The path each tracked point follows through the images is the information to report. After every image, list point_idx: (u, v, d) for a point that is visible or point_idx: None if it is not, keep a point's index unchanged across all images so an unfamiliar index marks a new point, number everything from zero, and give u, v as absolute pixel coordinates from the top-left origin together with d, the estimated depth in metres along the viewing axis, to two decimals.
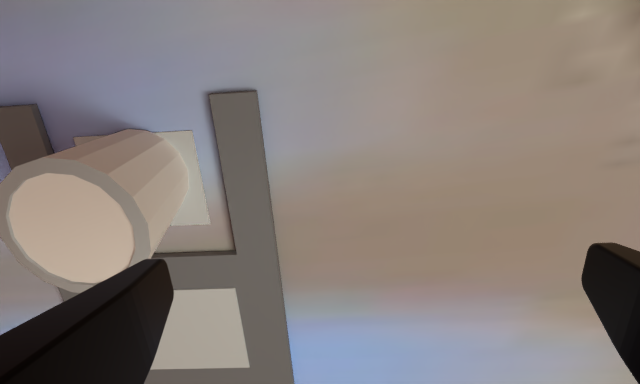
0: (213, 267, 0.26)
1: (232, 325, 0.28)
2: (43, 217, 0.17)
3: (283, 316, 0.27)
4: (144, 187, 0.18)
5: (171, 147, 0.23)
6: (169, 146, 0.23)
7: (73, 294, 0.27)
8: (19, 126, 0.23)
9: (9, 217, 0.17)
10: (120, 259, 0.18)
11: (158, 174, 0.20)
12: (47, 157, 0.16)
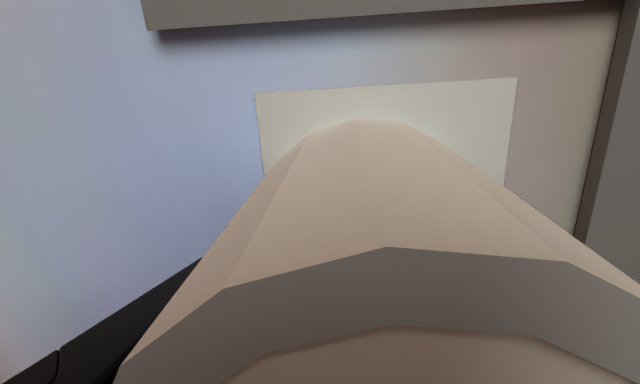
0: None
1: None
2: None
3: None
4: (265, 222, 0.04)
5: (292, 147, 0.10)
6: (290, 149, 0.10)
7: None
8: None
9: None
10: None
11: (291, 174, 0.06)
12: None
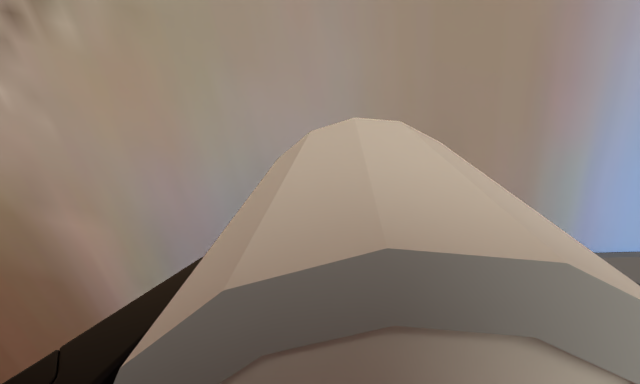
0: None
1: None
2: None
3: None
4: (265, 224, 0.04)
5: (292, 147, 0.10)
6: (290, 150, 0.10)
7: None
8: None
9: None
10: None
11: (290, 175, 0.06)
12: None
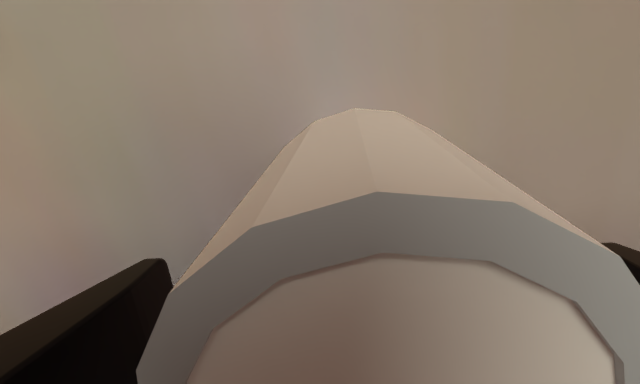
0: None
1: None
2: None
3: None
4: (279, 187, 0.05)
5: (297, 135, 0.11)
6: (295, 137, 0.11)
7: None
8: None
9: None
10: (533, 322, 0.05)
11: (298, 154, 0.07)
12: None
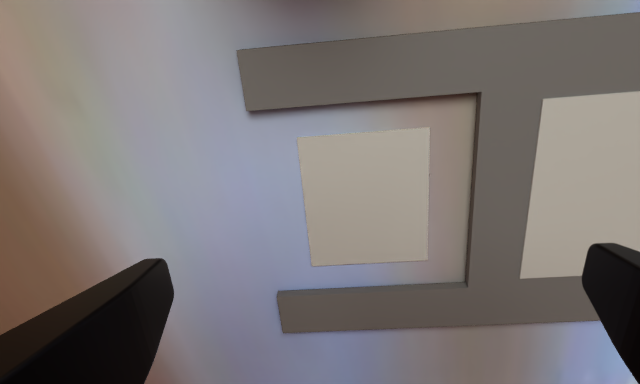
0: (499, 129, 0.17)
1: (618, 108, 0.17)
2: None
3: (620, 16, 0.15)
4: None
5: None
6: None
7: (517, 310, 0.21)
8: (299, 311, 0.22)
9: None
10: None
11: None
12: None
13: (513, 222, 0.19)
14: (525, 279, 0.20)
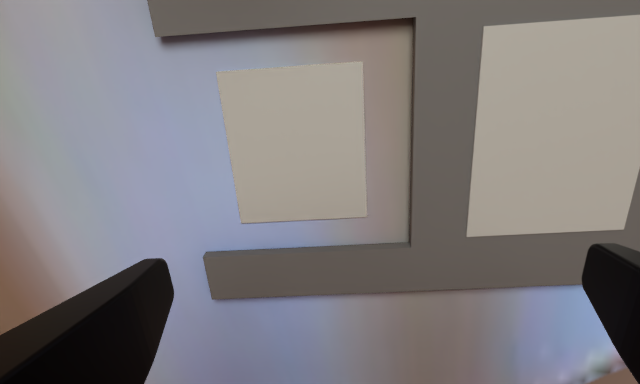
0: (437, 61, 0.16)
1: (566, 38, 0.15)
2: None
3: None
4: None
5: None
6: None
7: (465, 274, 0.19)
8: (228, 274, 0.20)
9: None
10: None
11: None
12: None
13: (457, 172, 0.17)
14: (472, 238, 0.19)
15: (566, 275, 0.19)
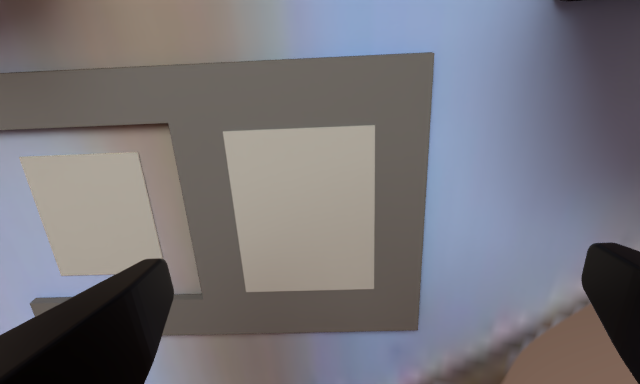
0: (192, 156, 0.19)
1: (290, 142, 0.19)
2: None
3: (271, 62, 0.17)
4: None
5: None
6: None
7: (253, 321, 0.23)
8: None
9: None
10: None
11: None
12: None
13: (227, 240, 0.21)
14: (252, 292, 0.22)
15: (337, 324, 0.23)
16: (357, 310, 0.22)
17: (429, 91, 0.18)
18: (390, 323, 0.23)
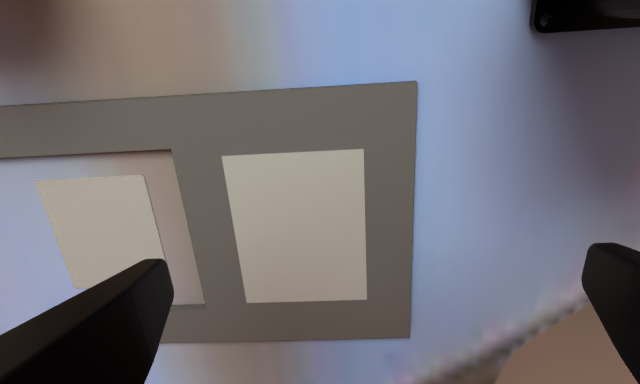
0: (194, 179, 0.20)
1: (284, 165, 0.20)
2: None
3: (265, 92, 0.19)
4: None
5: None
6: None
7: (254, 330, 0.24)
8: None
9: None
10: None
11: None
12: None
13: (228, 255, 0.22)
14: (252, 303, 0.24)
15: (333, 332, 0.24)
16: (352, 319, 0.24)
17: (414, 117, 0.19)
18: (383, 331, 0.24)
